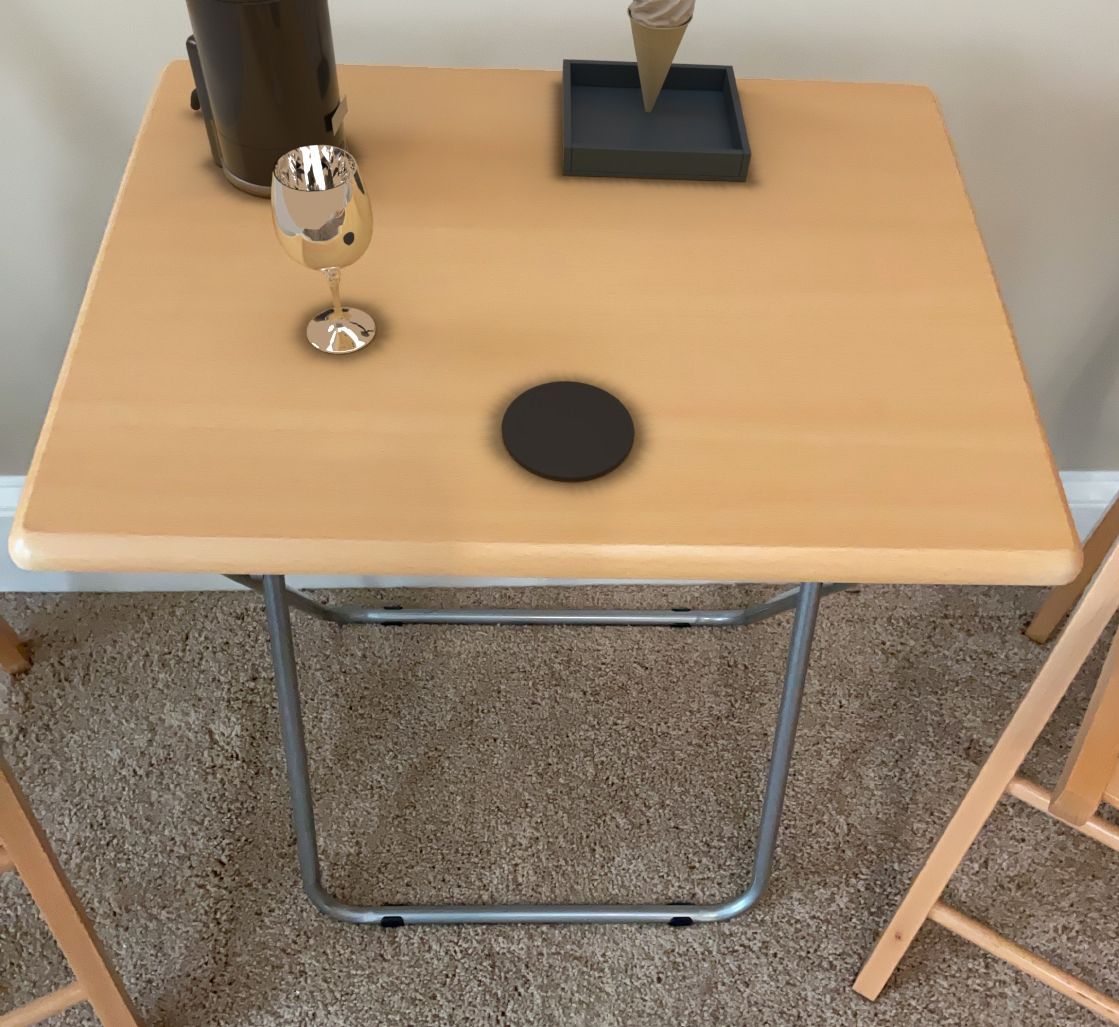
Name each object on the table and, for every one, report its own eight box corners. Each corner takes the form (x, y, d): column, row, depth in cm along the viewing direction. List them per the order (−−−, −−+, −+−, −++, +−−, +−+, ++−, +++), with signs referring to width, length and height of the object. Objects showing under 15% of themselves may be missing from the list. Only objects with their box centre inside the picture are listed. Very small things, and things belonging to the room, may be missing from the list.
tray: (562, 175, 80) (564, 147, 78) (561, 86, 88) (563, 58, 86) (745, 181, 80) (751, 154, 78) (727, 92, 88) (732, 65, 87)
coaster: (476, 447, 62) (476, 442, 61) (544, 368, 66) (544, 364, 66) (594, 501, 59) (594, 497, 59) (656, 416, 64) (656, 412, 64)
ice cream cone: (674, 131, 84) (703, -66, 72) (613, 122, 84) (631, -75, 72) (682, 100, 87) (711, -95, 75) (623, 91, 87) (642, -104, 75)
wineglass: (313, 371, 65) (281, 208, 56) (284, 316, 68) (249, 152, 59) (399, 345, 67) (382, 182, 58) (367, 292, 70) (345, 130, 61)
